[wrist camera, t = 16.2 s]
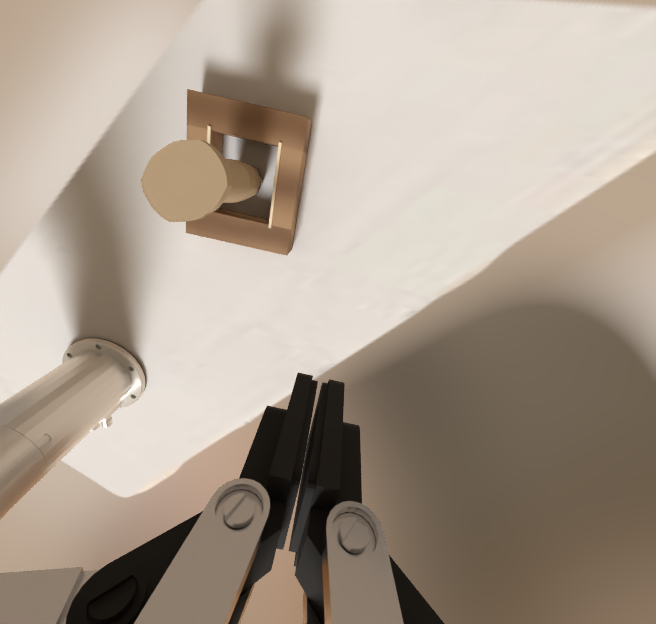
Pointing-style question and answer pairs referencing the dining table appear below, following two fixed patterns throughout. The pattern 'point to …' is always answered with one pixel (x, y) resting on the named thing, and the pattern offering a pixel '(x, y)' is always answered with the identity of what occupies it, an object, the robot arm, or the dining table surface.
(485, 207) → the dining table surface
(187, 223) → the wooden frame
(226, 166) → the handle
